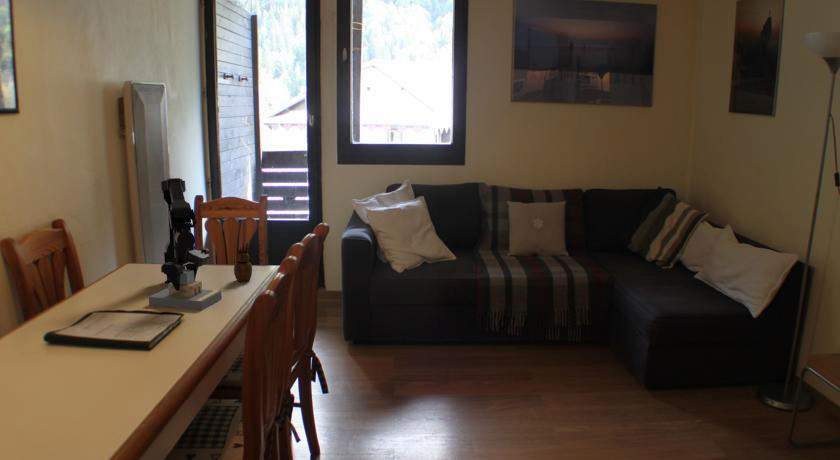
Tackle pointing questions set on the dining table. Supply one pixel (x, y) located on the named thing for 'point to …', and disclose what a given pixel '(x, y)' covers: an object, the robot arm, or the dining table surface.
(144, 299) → the dining table surface
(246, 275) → the brown vase with sticks
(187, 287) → the pallet
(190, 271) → the grey cube
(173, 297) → the dock
